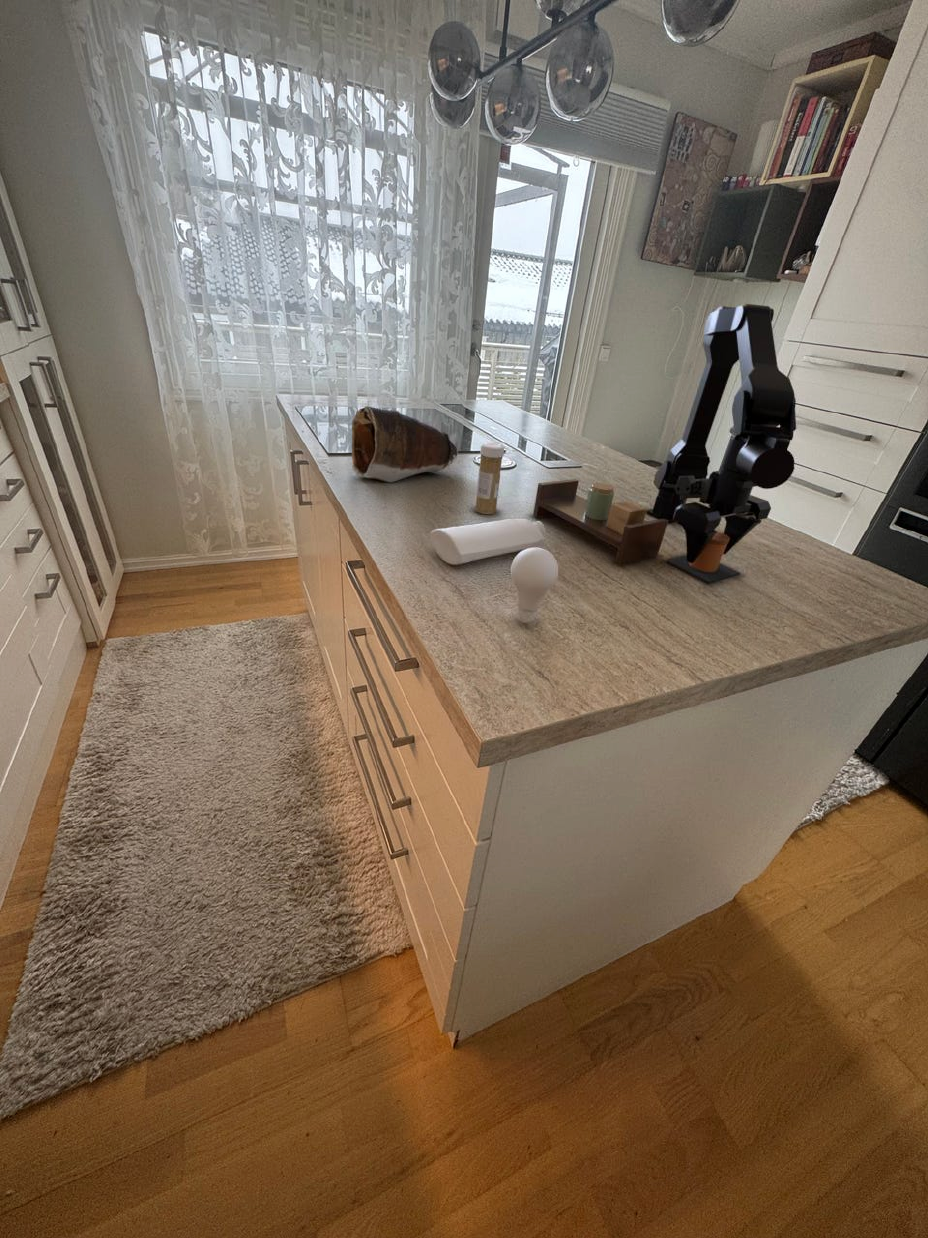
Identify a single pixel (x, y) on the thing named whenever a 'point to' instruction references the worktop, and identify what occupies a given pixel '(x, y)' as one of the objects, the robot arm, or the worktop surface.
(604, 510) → the sage jar
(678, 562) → the black rubber mat
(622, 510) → the oak block
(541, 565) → the lightbulb
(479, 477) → the sprinkles bottle
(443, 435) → the clay pot
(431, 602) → the worktop surface
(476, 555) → the squeeze bottle
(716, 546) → the copper tin
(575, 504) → the walnut shelf
